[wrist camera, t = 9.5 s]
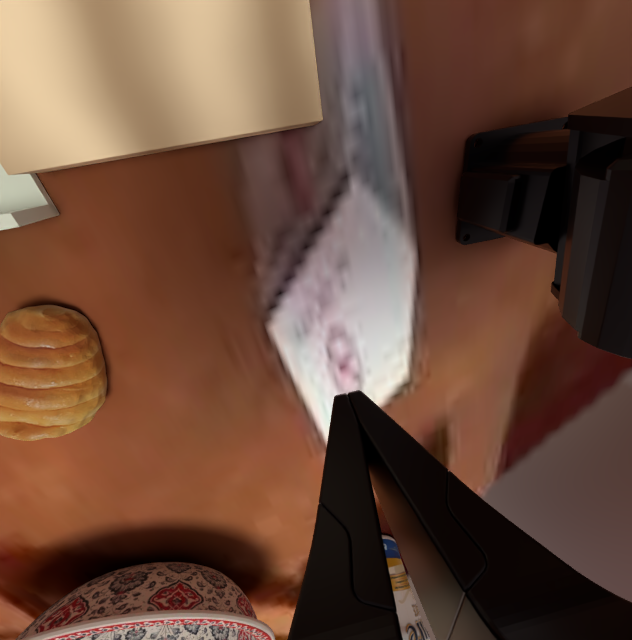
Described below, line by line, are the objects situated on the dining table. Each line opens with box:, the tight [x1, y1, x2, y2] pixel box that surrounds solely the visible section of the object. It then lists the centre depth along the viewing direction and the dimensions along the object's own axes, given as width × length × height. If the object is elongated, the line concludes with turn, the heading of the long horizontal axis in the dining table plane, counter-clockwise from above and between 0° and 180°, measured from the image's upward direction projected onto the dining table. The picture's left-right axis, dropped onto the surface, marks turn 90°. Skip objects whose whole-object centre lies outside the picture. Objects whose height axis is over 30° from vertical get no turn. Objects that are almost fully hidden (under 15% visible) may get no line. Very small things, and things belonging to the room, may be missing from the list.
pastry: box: [0, 305, 107, 441], centre depth 18 cm, size 9×7×4 cm
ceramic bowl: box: [16, 562, 275, 640], centre depth 34 cm, size 29×29×8 cm
